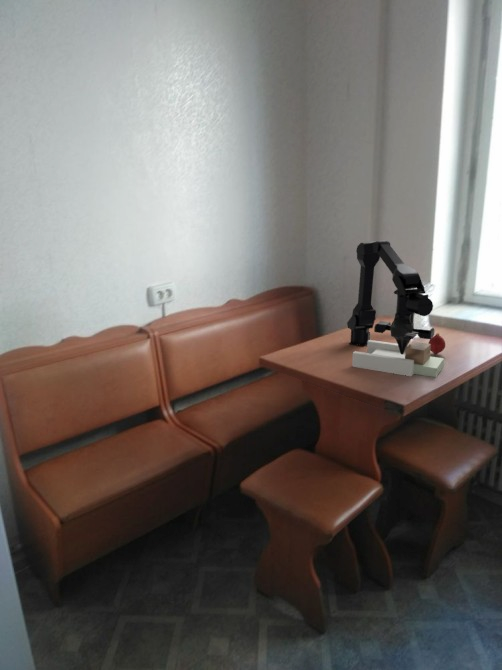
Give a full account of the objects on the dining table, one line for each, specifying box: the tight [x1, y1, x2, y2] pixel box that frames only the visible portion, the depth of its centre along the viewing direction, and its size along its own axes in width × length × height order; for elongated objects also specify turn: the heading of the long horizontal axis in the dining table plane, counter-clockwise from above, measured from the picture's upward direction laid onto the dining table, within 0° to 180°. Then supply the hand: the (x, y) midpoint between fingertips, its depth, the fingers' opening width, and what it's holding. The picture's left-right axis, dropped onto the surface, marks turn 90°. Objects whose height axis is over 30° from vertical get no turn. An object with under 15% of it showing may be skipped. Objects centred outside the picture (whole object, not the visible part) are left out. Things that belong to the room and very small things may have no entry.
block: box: [405, 341, 431, 365], centre depth 166 cm, size 6×8×5 cm
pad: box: [413, 356, 445, 378], centre depth 166 cm, size 7×11×3 cm, turn 148°
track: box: [351, 339, 415, 377], centre depth 172 cm, size 20×17×5 cm
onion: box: [427, 332, 446, 355], centre depth 180 cm, size 6×6×8 cm
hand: (402, 354), depth 169 cm, fingers closed
